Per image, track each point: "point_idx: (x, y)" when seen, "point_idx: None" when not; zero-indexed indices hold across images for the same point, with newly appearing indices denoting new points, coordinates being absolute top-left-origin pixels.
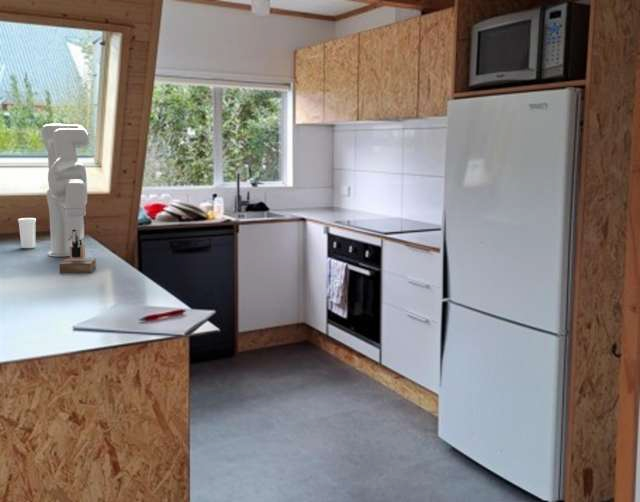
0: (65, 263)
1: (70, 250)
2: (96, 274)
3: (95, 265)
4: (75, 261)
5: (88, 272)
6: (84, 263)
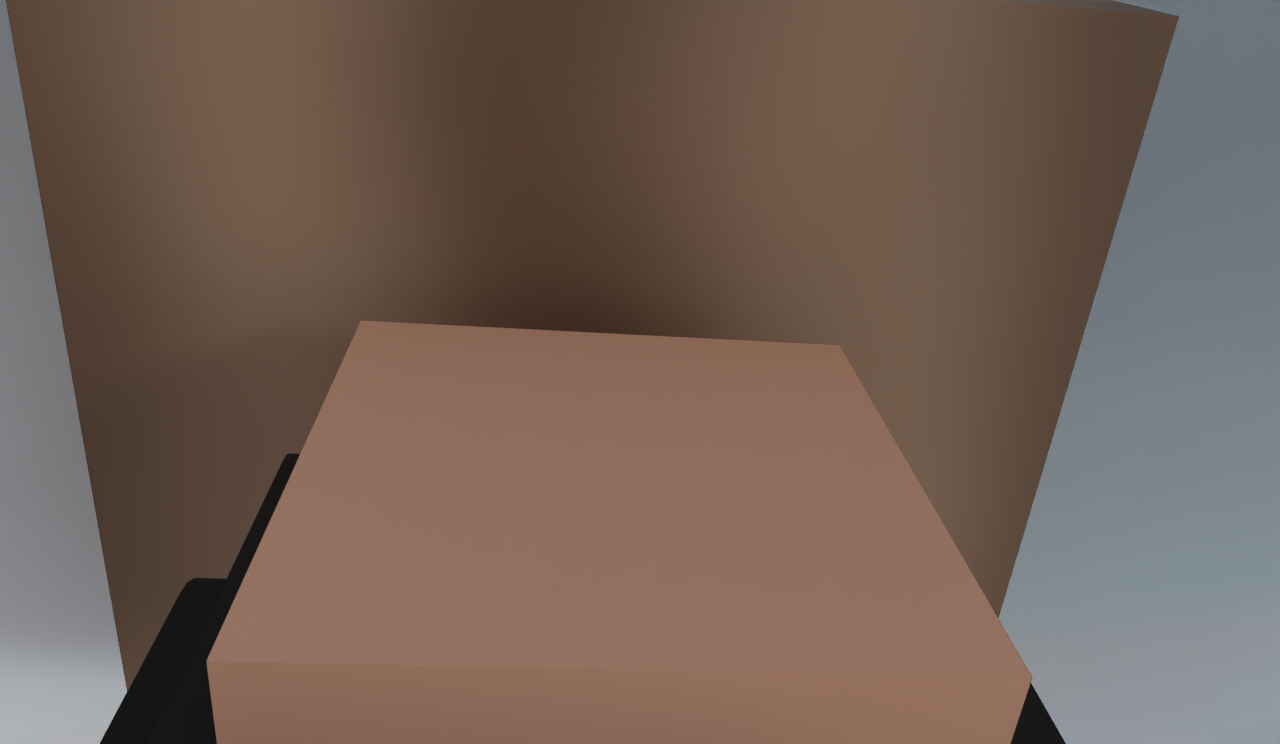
0: (109, 146)
1: (272, 552)
2: None
3: None
4: None
5: None
6: None
